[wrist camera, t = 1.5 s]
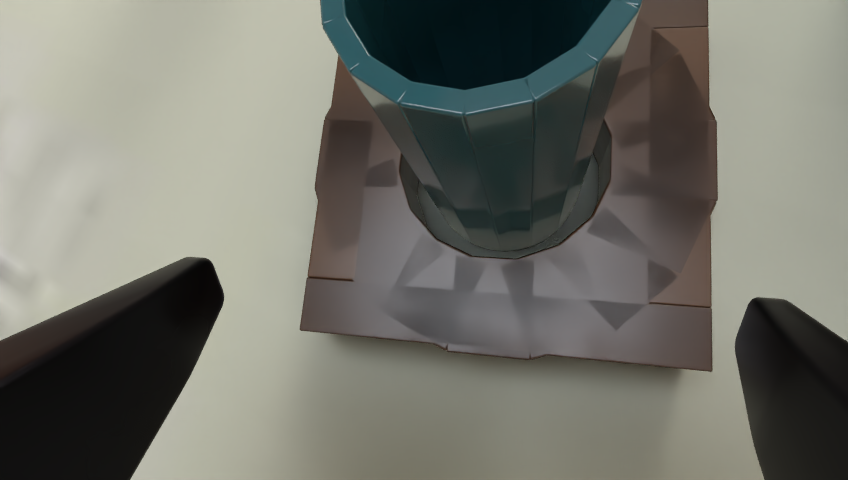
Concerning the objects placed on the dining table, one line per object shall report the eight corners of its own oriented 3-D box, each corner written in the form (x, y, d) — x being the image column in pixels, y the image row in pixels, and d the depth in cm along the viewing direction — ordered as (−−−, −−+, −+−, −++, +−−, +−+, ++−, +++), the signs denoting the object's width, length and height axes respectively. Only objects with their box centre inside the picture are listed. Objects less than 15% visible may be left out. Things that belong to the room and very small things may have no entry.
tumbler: (590, 239, 20) (689, 71, 8) (445, 261, 21) (330, 142, 9) (564, 105, 22) (613, -219, 9) (428, 131, 23) (309, -129, 10)
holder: (689, 374, 19) (720, 379, 16) (325, 337, 22) (292, 335, 19) (688, 25, 21) (715, -29, 18) (365, 35, 24) (341, -9, 21)
